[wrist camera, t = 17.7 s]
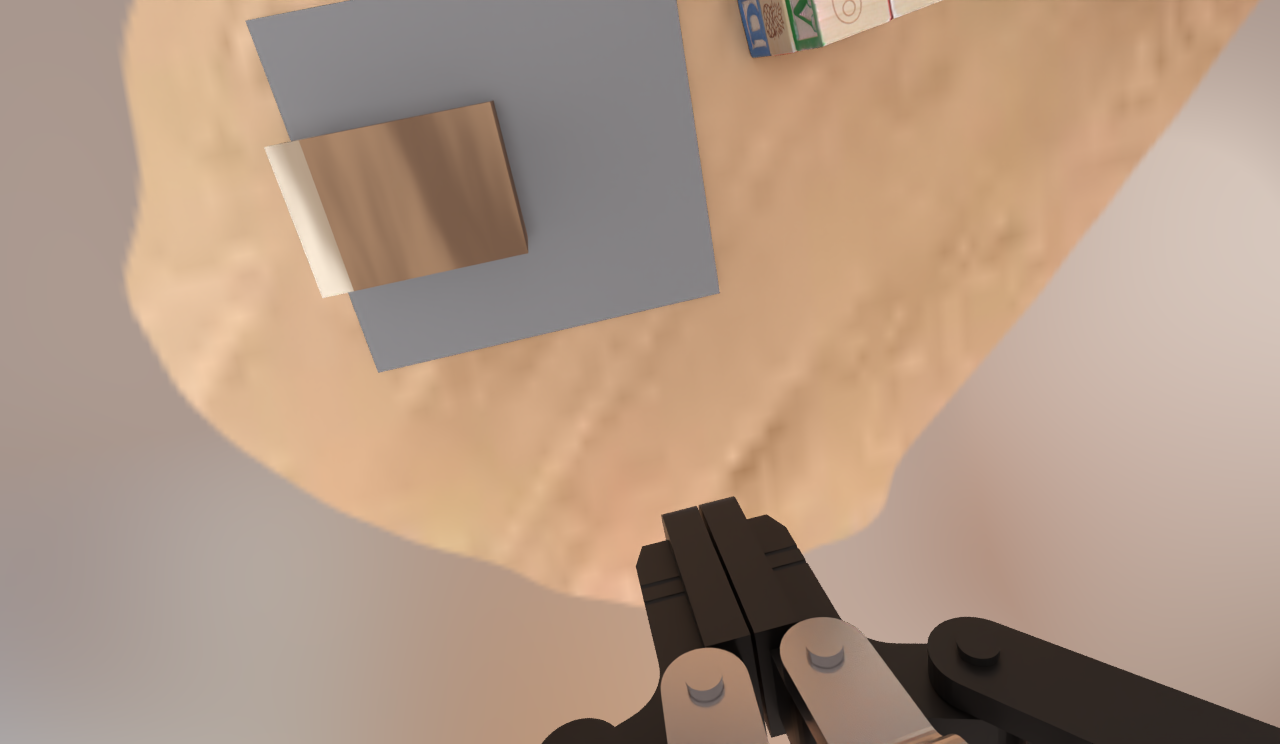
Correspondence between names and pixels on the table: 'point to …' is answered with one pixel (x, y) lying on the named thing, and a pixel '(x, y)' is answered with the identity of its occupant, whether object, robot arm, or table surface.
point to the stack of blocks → (814, 21)
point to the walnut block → (402, 198)
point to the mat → (519, 153)
